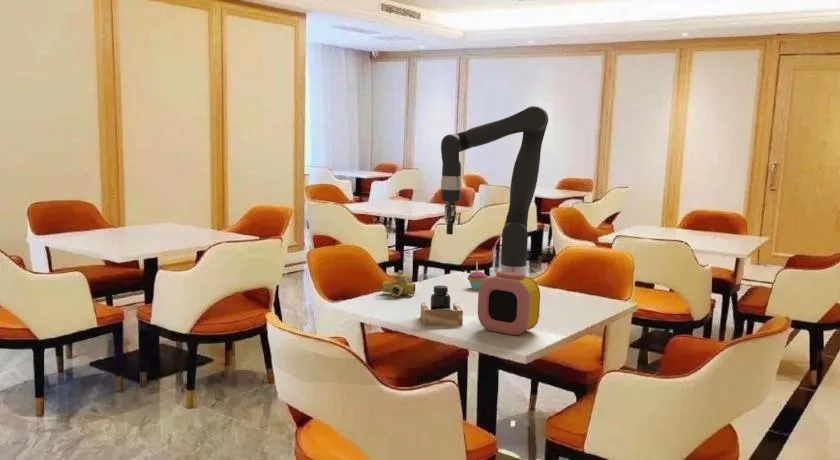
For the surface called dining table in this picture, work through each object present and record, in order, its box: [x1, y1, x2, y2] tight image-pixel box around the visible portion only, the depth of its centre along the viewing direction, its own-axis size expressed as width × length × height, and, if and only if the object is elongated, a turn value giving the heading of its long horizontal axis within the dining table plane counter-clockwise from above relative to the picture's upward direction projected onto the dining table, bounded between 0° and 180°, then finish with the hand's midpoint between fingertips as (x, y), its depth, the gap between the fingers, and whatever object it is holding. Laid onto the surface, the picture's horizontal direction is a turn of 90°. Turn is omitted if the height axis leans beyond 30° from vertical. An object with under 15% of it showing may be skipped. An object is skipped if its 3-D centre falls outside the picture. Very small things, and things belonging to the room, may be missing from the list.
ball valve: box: [381, 269, 416, 297], centre depth 292 cm, size 13×10×10 cm
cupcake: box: [467, 261, 489, 290], centre depth 310 cm, size 9×8×12 cm
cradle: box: [420, 302, 464, 326], centre depth 254 cm, size 12×13×5 cm
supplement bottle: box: [430, 284, 451, 310], centre depth 254 cm, size 7×7×12 cm
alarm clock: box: [477, 270, 541, 336], centre depth 243 cm, size 18×11×19 cm, turn 56°
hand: (449, 234), depth 276 cm, fingers closed
